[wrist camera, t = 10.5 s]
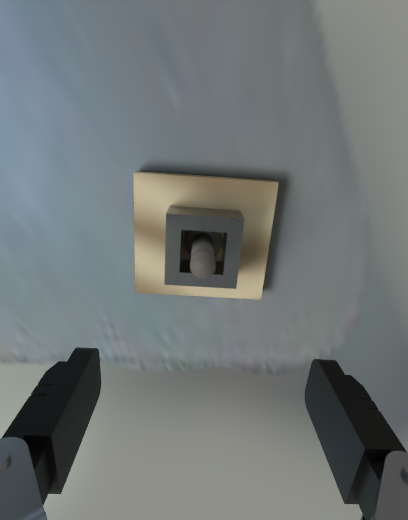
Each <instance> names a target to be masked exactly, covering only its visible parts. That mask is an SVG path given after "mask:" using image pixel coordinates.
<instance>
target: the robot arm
mask: <svg viewBox="0 0 408 520" xmlns="http://www.w3.org/2000/svg"><path fill="white" fill-rule="evenodd" d="M100 389H101V372H100V358H99V350H98V349H97V348H78V347H77V348H75V350H74V351H73V353H72V354H71V356H70V358H69V359H68V361H67V362H62V361H59V362H57V363H56V364H55V365H54V366H52V367H51V368H50V369H49V370H47V371H46V373H45V374H44V375H43V377H42V378H41V380H40V381H39V383H38V386H36V387H35V389H34V390H33V392H32V393H31V396H30V397H29V398H28V400H27V401H26V402H25V404H24V405H23V407H22V409H21V410H20V411H19V413H18V415H17V416H16V417H15V419H14V420H13V422H12V423H11V425H10V426H9V428H8V430H7V431H6V432H5V434H4V435H3V437H2V438H1V439H0V520H47V516H46V513H45V511H44V508H43V505H44V502H45V500H46V498H47V495H48V494H61V492H62V490H63V487H64V484H65V482H66V479H67V477H68V474H69V472H70V469H71V467H72V464H73V462H74V459H75V457H76V454H77V452H78V449H79V446H80V444H81V441H82V439H83V436H84V434H85V431H86V428H87V426H88V424H89V421H90V419H91V416H92V414H93V411H94V408H95V406H96V403H97V401H98V398H99V394H100ZM305 404H306V408H307V410H308V413H309V415H310V418H311V420H312V423H313V426H314V428H315V431H316V433H317V435H318V438H319V440H320V443H321V446H322V448H323V450H324V453H325V456H326V458H327V460H328V463H329V466H330V468H331V471H332V473H333V476H334V478H335V481H336V483H337V486H338V488H339V491H340V493H341V496H342V498H343V501H344V503H345V504H359V506H360V509H361V511H362V513H363V514H362V517H361V520H408V453H407V451H406V450H405V448H404V447H403V446H402V444H401V443H400V441H399V439H398V438H397V436H396V435H395V433H394V432H393V430H392V429H391V427H390V426H389V424H388V423H387V421H386V420H385V419H384V417H383V415H382V414H381V412H380V411H378V408H377V406H376V405H375V403H374V402H373V401H372V400H371V398H370V396H369V394H368V393H367V391H366V390H365V388H364V387H363V386H362V385H361V384H360V383H359V382H358V381H357V380H356V379H354V378H353V377H352V376H351V375H345V374H344V372H343V371H342V369H341V368H340V366H339V364H338V363H337V362H336V361H335V360H322V359H314V360H313V361H312V364H311V368H310V372H309V377H308V380H307V385H306V389H305Z"/></svg>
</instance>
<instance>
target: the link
mask: <svg viewBox="0 0 408 520" xmlns="http://www.w3.org/2000/svg"><path fill="white" fill-rule="evenodd" d="M244 220H245V218H244V217H243V215H242V213H241V211H240V210H226V209H211V208H195V207H180V206H169V208H168V210H167V213H166V236H165V279H164V285H176V286H194V287H212V288H229V289H236V287H237V279H238V270H239V262H240V253H241V245H242V236H243V228H244ZM183 230H193V231H208V232H224V235H223V246H222V256H221V262H219V261H215V264H216V269H215V272H214V273H213V274H212V275H211V276H210V277H208V278H198V277H196V276H194V275H193V273H192V272H191V269H190V262H191V260H186V259H182V238H183Z"/></svg>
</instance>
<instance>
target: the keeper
mask: <svg viewBox="0 0 408 520" xmlns="http://www.w3.org/2000/svg"><path fill="white" fill-rule="evenodd" d="M278 185H279V182H277V181H273V180H259V179H244V178H230V177H215V176H200V175H186V174H171V173H157V172H142V171H136V172H134V231H135V293H153V294H171V295H189V296H207V297H225V298H243V299H261V296H262V290H263V283H264V277H265V270H266V264H267V257H268V251H269V244H270V237H271V231H272V224H273V218H274V211H275V205H276V198H277V192H278ZM169 206H180V207H195V208H211V209H226V210H240V211H241V213H242V215H243V217H244V218H245V220H244V228H243V236H242V245H241V253H240V262H239V270H238V279H237V287H236V289H229V288H212V287H194V286H176V285H164V279H165V236H166V213H167V210H168V208H169ZM223 235H224V232H208V231H193V230H183V238H182V259H186V260H191V262H190V269H191V272H192V273H193V275H194V276H196V277H198V278H208V277H210V276H211V275H212V274H213V273H214V272H215V269H216V264H215V261H219V262H221V256H222V246H223Z"/></svg>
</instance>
